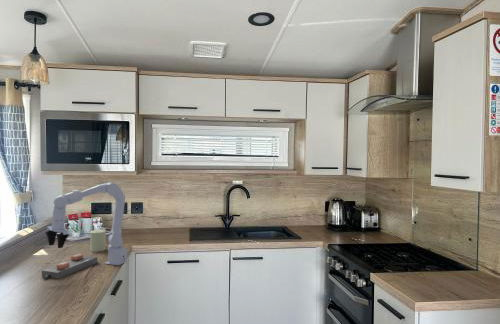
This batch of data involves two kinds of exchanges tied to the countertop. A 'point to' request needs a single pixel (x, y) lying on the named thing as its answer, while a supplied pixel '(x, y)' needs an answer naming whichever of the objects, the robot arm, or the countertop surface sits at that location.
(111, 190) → the robot arm
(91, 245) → the can
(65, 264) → the switch
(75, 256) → the switch
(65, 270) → the power strip
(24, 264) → the countertop surface
